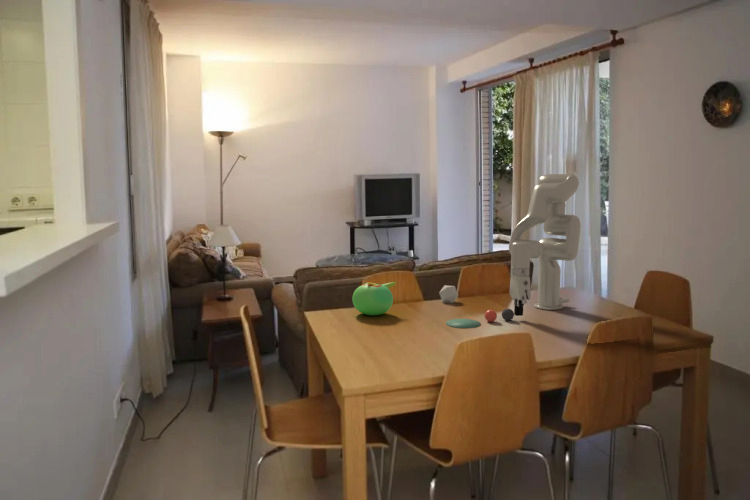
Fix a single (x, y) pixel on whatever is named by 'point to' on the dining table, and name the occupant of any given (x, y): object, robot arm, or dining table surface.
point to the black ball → (507, 314)
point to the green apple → (373, 298)
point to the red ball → (490, 315)
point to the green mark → (463, 323)
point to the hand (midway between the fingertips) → (518, 315)
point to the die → (448, 294)
